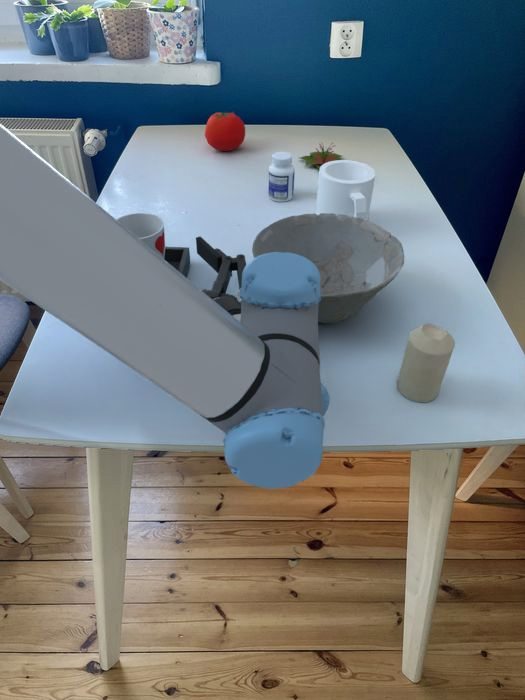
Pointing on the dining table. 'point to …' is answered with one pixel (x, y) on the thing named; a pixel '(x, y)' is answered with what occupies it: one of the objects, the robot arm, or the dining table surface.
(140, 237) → the cup
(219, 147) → the tomato
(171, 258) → the shallow square tray
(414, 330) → the candle
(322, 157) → the lily flower
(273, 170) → the pill bottle
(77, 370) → the dining table surface
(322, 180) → the mug
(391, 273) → the ceramic bowl
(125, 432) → the dining table surface
